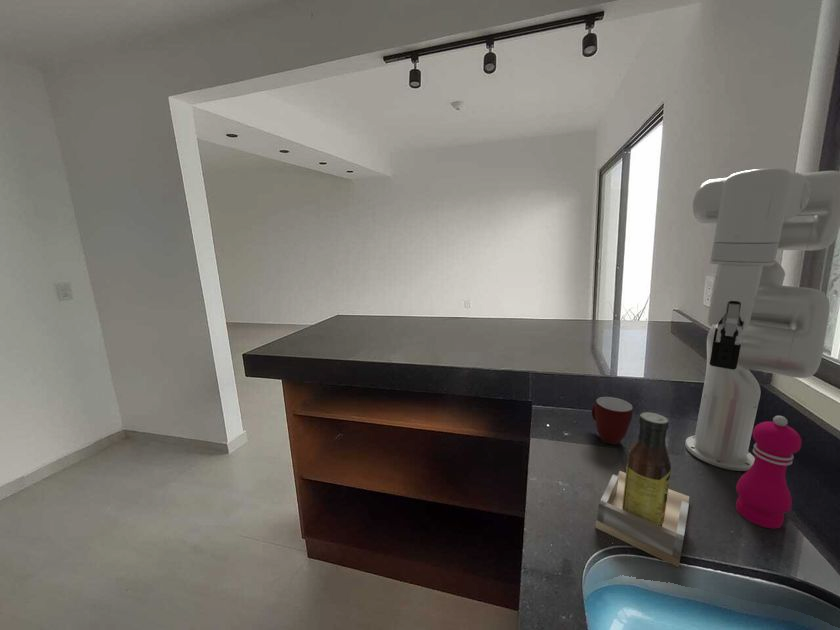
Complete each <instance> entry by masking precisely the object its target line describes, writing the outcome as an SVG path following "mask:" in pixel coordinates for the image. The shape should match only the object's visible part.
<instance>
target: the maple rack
mask: <svg viewBox="0 0 840 630" xmlns="http://www.w3.org/2000/svg"><path fill="white" fill-rule="evenodd" d="M625 478H626V472H624V471H621V470H619V472H618V474H617V475H616V474H612V476H611V478H610V480H609V482H608V484H607V485H606V488H605V490H604V492H603V494H602V496H601V498H600V501H599V502H598V508H597V517H596V518H597V519H596V523H595V529H598V530H599V531H602V532H604V533H606V534H608V535H610V536H612V537H615V538H616V539H618V540H620V541H623V542H625V543H627V544H629V545H631V546H633V547H635V548H637V549H639V550H642V551H644V552H646V553H648V554H650V555H651V556H653V557H655V558H658V559H660V560H662V561H664V562H667V563H669V564H670V565H673V566H674V567H677V568H679V567H680V561H681V556H682V551H683V550H682V549H683V544H684V539H685V532H686V526H687V519H688V512H689V505H690V496H689V495H686V494H683V493H681V492H678V491H676V490H672V489H670V488H669V489H668V495H667V502H666V510H665V517H664V522H663V524H662V526H659V525H657V524H655V523H653V522H650V521H648V520H646V519H643V518H641V517H639V516H636V515H634V514H632V513H629V512H627V511H625V510H623V509H622V506H623V496H624V487H625Z"/></svg>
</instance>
